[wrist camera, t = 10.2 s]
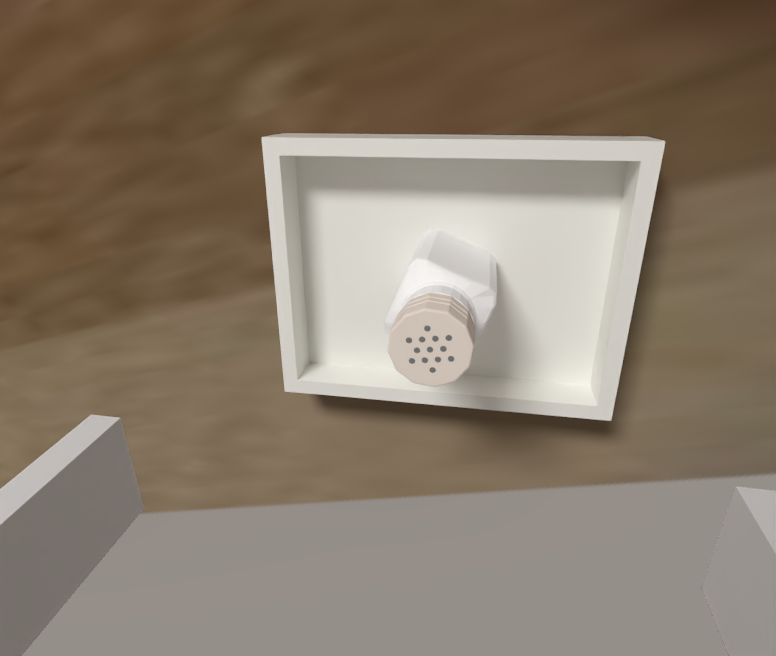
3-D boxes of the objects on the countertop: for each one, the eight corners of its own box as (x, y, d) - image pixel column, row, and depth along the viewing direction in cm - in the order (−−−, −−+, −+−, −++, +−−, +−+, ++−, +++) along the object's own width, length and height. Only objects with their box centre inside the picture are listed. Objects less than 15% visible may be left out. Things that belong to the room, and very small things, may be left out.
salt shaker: (399, 289, 29) (361, 370, 20) (429, 222, 27) (400, 280, 19) (467, 319, 29) (457, 413, 20) (500, 253, 27) (505, 326, 19)
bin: (284, 133, 27) (261, 137, 25) (646, 136, 25) (665, 141, 22) (301, 366, 33) (284, 391, 30) (600, 391, 30) (611, 420, 27)
